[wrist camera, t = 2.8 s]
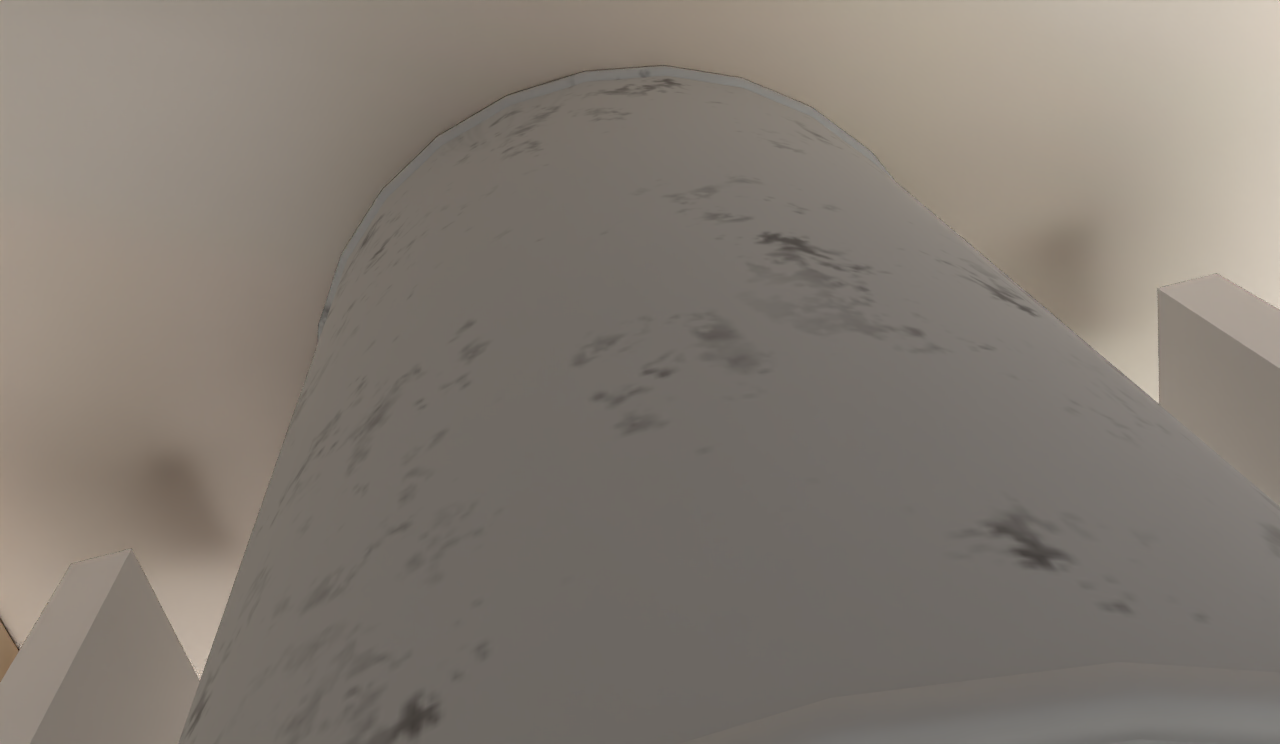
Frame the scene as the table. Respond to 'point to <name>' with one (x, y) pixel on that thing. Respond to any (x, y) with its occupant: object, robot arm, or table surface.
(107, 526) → the table surface
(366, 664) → the gray cylinder
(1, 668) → the press
